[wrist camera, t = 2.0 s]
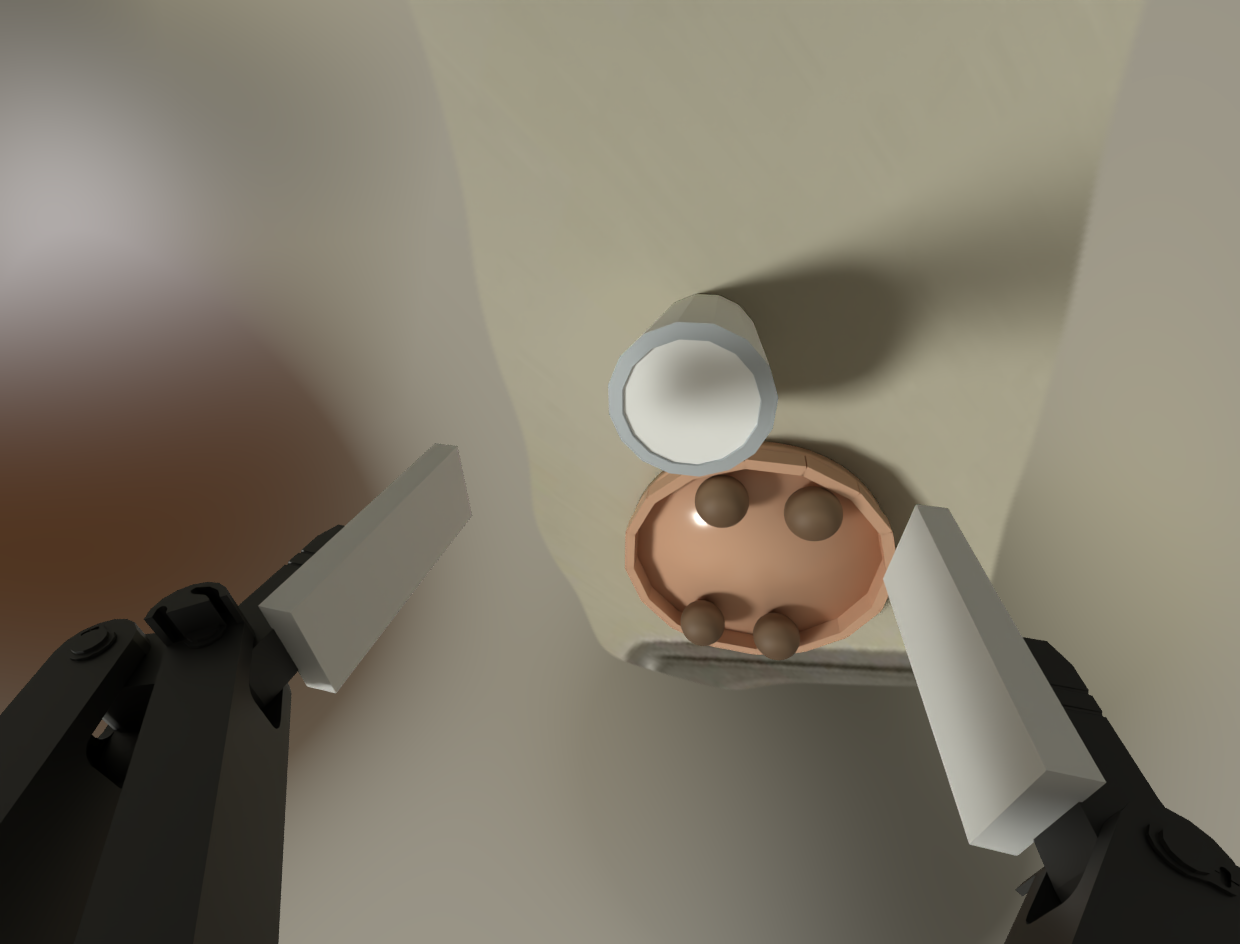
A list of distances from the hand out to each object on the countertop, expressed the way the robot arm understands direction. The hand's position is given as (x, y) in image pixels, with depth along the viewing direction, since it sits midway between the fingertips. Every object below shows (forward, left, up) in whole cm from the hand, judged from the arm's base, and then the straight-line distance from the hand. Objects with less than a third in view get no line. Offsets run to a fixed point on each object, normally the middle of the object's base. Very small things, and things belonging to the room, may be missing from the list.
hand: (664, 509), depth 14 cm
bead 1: (+7, +2, -11) cm, 13 cm away
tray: (+13, +5, -13) cm, 19 cm away
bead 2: (+18, +2, -11) cm, 21 cm away
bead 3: (+18, +7, -11) cm, 22 cm away
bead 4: (+7, +7, -11) cm, 15 cm away
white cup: (0, 0, -14) cm, 14 cm away
